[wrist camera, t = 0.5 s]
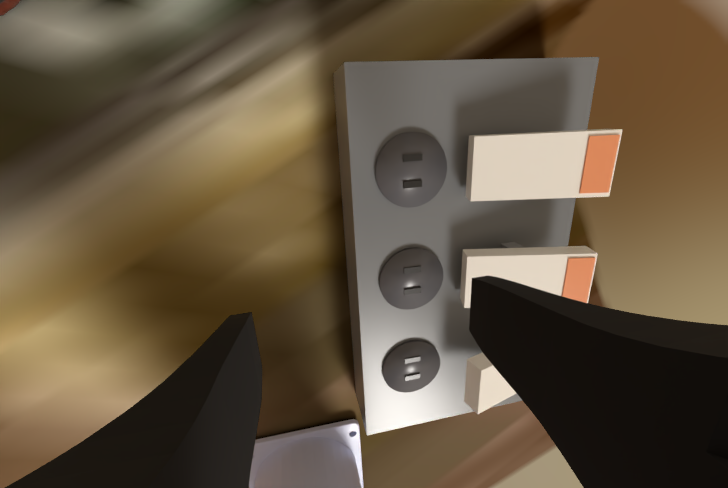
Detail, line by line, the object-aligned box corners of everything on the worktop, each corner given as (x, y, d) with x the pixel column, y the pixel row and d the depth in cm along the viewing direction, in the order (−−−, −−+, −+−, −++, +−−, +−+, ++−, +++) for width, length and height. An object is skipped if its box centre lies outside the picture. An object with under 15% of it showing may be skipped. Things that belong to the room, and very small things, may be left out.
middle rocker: (576, 296, 18) (588, 306, 17) (460, 298, 18) (464, 308, 17) (585, 246, 17) (598, 253, 16) (462, 249, 17) (467, 257, 16)
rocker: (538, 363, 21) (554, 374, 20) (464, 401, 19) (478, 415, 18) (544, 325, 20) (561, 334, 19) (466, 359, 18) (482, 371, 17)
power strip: (510, 361, 26) (550, 403, 22) (355, 393, 24) (369, 445, 20) (546, 68, 19) (612, 54, 15) (333, 73, 17) (347, 58, 13)
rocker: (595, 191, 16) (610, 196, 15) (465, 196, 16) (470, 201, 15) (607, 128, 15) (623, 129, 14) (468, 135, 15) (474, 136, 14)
